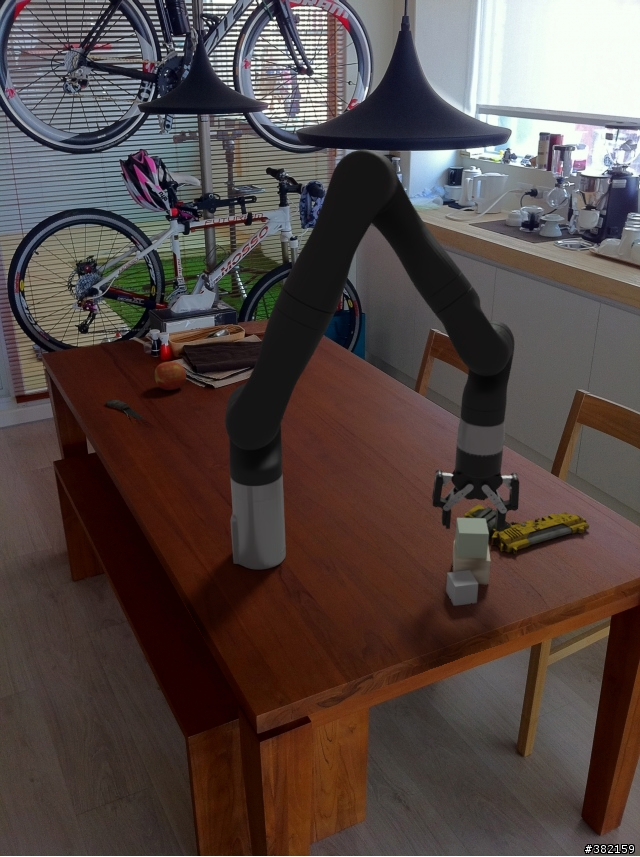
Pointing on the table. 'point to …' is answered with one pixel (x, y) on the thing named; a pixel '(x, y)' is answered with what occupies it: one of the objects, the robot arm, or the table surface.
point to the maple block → (473, 566)
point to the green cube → (471, 538)
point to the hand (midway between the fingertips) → (472, 527)
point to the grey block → (462, 587)
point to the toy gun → (528, 528)
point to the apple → (170, 375)
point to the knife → (123, 408)
